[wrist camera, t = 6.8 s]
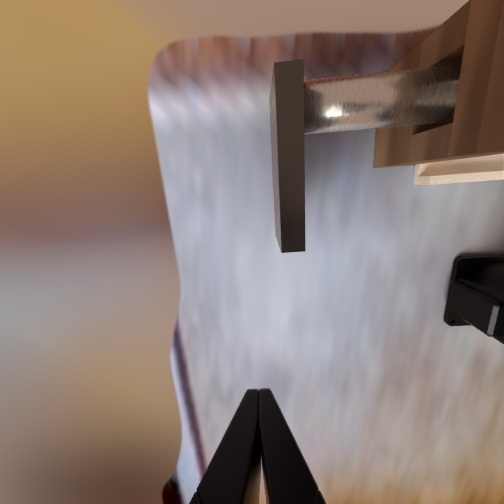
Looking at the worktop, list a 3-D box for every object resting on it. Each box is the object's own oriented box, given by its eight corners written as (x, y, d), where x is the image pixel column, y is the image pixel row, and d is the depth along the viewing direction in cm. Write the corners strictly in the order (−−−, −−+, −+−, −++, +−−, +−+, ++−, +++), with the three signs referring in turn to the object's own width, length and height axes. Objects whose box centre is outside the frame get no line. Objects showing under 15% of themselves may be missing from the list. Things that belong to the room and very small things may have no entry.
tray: (580, 34, 16) (620, 15, 14) (543, 175, 18) (573, 174, 16) (428, 49, 16) (449, 32, 14) (413, 184, 19) (428, 184, 17)
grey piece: (420, 85, 13) (494, 40, 9) (405, 226, 16) (458, 241, 11) (269, 99, 14) (274, 62, 10) (275, 234, 16) (281, 252, 12)
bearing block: (422, 74, 16) (603, -46, 8) (412, 164, 18) (552, 147, 10) (379, 78, 17) (510, -36, 8) (373, 167, 18) (475, 153, 10)
